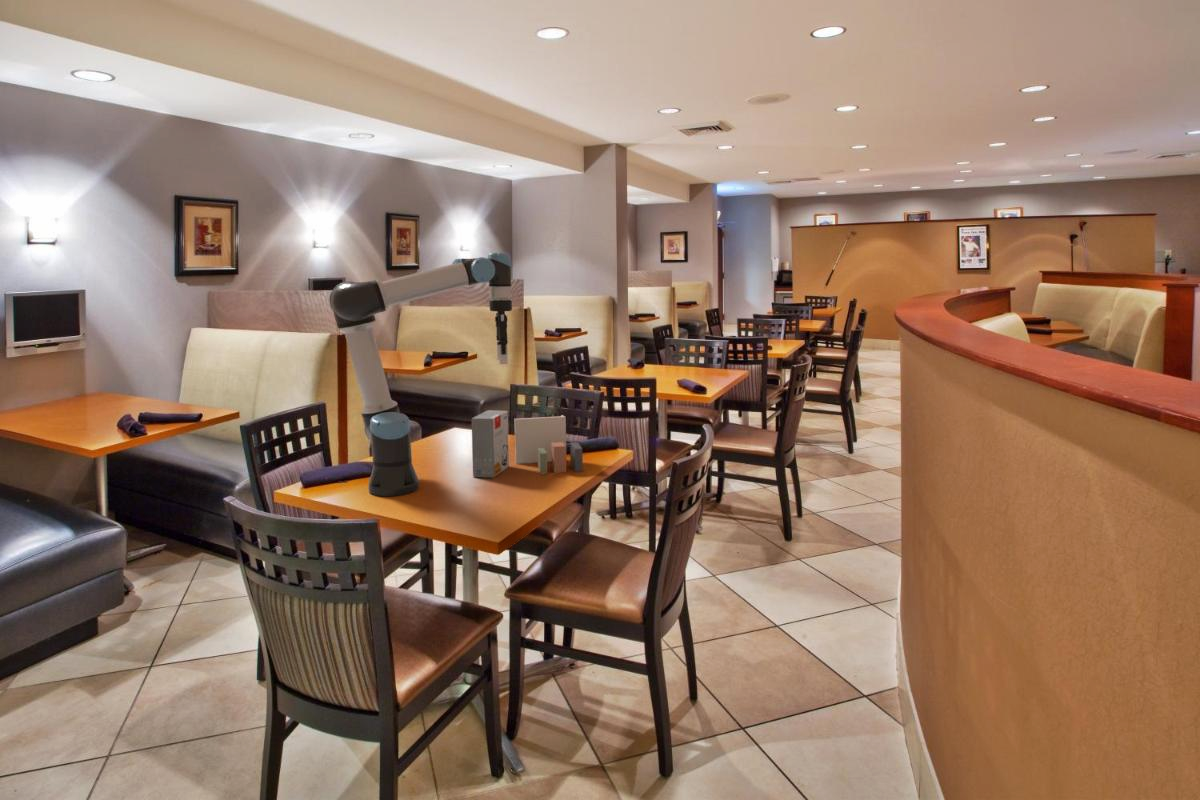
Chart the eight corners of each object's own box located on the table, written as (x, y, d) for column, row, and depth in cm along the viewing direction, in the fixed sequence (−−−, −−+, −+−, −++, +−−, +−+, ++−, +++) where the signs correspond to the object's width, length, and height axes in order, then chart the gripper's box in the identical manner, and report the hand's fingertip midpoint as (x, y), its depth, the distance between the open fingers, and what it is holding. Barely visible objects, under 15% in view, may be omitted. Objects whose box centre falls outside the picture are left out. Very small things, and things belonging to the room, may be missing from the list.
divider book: (541, 474, 235) (540, 453, 234) (538, 467, 243) (537, 448, 242) (547, 473, 236) (546, 453, 234) (544, 467, 243) (543, 447, 242)
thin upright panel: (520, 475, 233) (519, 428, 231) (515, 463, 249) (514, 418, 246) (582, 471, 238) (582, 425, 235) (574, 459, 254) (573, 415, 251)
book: (554, 472, 237) (553, 446, 235) (551, 468, 242) (551, 442, 241) (566, 472, 237) (565, 446, 236) (563, 467, 243) (562, 442, 242)
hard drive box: (494, 478, 230) (492, 419, 227) (472, 477, 232) (469, 418, 228) (509, 466, 245) (507, 410, 242) (489, 465, 247) (486, 409, 243)
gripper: (514, 300, 227) (516, 365, 231) (509, 298, 251) (510, 357, 255) (491, 300, 226) (493, 366, 229) (487, 298, 250) (489, 357, 253)
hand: (502, 361), depth 242 cm, fingers open, 13 cm apart
